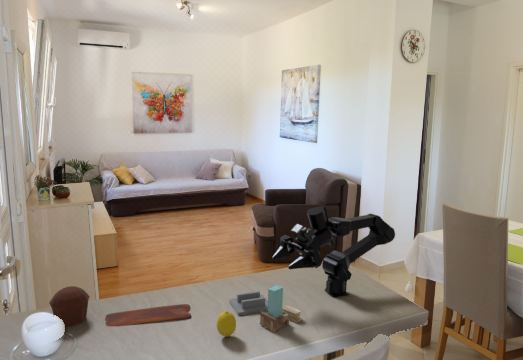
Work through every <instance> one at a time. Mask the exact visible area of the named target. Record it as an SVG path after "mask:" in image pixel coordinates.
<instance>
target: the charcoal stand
mask: <svg viewBox="0 0 523 360" xmlns="http://www.w3.org/2000/svg"><path fill="white" fill-rule="evenodd" d="M229 304H230V305H231V307H232V308H233V309H234V311H235V313H236V314H237V316H245V315H249V314H257V313H261V312H268V299H267V298H266V297H265V296H264V295H263V294H261V292H260V290H258V291H251V292H250V291H249V292H242V293H237V294H236V297H235V298H230V299H229Z"/></svg>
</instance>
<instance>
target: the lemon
mask: <svg viewBox="0 0 523 360" xmlns="http://www.w3.org/2000/svg"><path fill="white" fill-rule="evenodd" d="M236 327H237V320H236V317H235V315H234V314H233V313H232V312H231V311H228V310H226V311H223V312H221V313H220V314H219V315H218V317H217V321H216V328H217V331H218V334H220V335H221V336H222V337H223V336H224V337H225V338H228V337H230V336H231V335H233V334H234V333H235V331H236Z"/></svg>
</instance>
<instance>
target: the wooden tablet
mask: <svg viewBox="0 0 523 360" xmlns="http://www.w3.org/2000/svg"><path fill="white" fill-rule="evenodd" d="M190 311H191V305H190V304H189V303H181V304H173V305H164V306H163V305H161V306H153V307H148V308H146V307H145V308H140V309H139V308H138V309H133V310H126V311H119V312H113V313H108V314H105V318H104V321H105V325H106V327H124V326H132V325H139V324H149V323H158V322H168V321H171V322H172V321H180V320H186V319H187V320H188V319H191V318H192V314H191V313H189V312H190Z"/></svg>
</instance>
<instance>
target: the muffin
mask: <svg viewBox="0 0 523 360" xmlns="http://www.w3.org/2000/svg"><path fill="white" fill-rule="evenodd" d="M89 299H90V295H89V294H88V293H87V292H86V290H85V289H83V288H82V287H78V286H76V285H75V286H71V285H70V286H66V287H63V288H61V289H59V290H58V291H56V293H54V295H53V297H52V298H51V299H50V300H49V302H48V304H49V306H50V308H51V310H52V315H53V316H54V315H56V316H58V317H59V318H60V319H62V320H63V322H64V324H65V326H66V327H73V326H76V325H79V324H82V323H83V322H84V321H85V320H86V319H87V315H88V313H87V312H88V305H89Z"/></svg>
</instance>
